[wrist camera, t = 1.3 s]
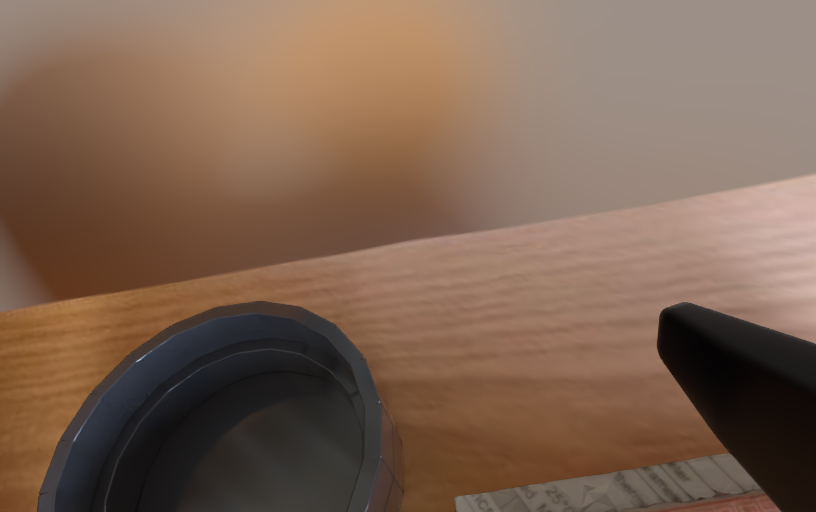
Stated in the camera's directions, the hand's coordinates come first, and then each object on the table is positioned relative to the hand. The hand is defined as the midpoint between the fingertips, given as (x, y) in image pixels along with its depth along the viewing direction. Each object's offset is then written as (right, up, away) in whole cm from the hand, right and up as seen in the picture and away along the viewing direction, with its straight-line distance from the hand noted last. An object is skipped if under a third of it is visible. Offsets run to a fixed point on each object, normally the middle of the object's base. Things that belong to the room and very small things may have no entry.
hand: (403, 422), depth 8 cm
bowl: (-7, -8, +16) cm, 19 cm away
